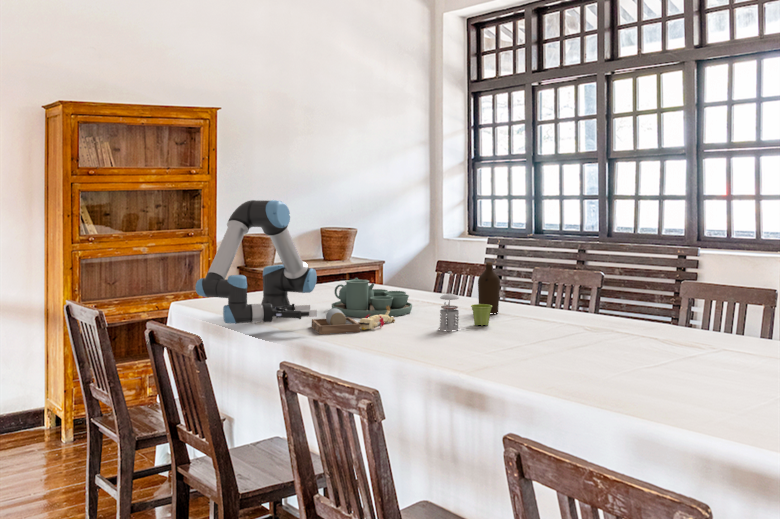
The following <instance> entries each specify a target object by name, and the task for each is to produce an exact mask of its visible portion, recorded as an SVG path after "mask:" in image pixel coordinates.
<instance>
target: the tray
mask: <svg viewBox="0 0 780 519" xmlns="http://www.w3.org/2000/svg"><path fill="white" fill-rule="evenodd" d="M346 320H347V321H349V322H351V323H352V324H347V325H329V324H328V323H327V321H326V318H314V319H311V328H312V329H313V330H314V331H315V330H316V331H315V332H316V333H317V334H319V335H331V334H330V333H336V334H347V333H346V332H353V333H361V327H360V324H359V323H358V322H357V321H356V320H354V319H353V318H351V316H348V317H346Z"/></svg>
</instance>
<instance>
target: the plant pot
mask: <svg viewBox="0 0 780 519" xmlns="http://www.w3.org/2000/svg"><path fill="white" fill-rule="evenodd" d="M470 307H471V311H472V316H473V324H474V325H475V326H476V325H481V326H483V325H487V326H489V324H490V311H491V307H492V305H487V304H479V303H478V304H477V303H476V304H470Z"/></svg>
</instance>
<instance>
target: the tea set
mask: <svg viewBox="0 0 780 519" xmlns="http://www.w3.org/2000/svg"><path fill="white" fill-rule="evenodd" d="M344 281H345V283H346V284H342V283H341V284H337V285H336V287H335V288H334V295H335V297H336V298H337V299H338V300H339V301H336V302H332V303H331V309H333V308H337V309H339V310H340V311H341V312H342V313H343V314H344V315H345V317H350V318H351V317H354V318H361V319H362V318H365V317H366V316H367V315H369V317H371V316H374V315H385V314H386V312H387V309H386V306H390V312H389V314H388V315H389V317H390V318H391V316H393V317H400V316H404V315H407V314H410V313H411V311H412V309H413V303H411V302H408V300H409V297H410V295H409V294H407V292H406V291H403V290H388V289H383V288H380V289H379V288H374V287H375V283H374V282H372V283H371V284H369V283H370V280H368V279H359V278H358V277H355V278H354V279H349V280H344ZM340 287H341V288H340ZM339 288H340V289H339ZM373 288H374V289H373ZM338 289H339V292H338ZM337 292H338V293H337ZM370 314H371V315H370Z"/></svg>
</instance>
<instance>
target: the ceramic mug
mask: <svg viewBox="0 0 780 519" xmlns="http://www.w3.org/2000/svg"><path fill="white" fill-rule="evenodd" d="M346 318H347V316H345V315H344V314H343V313H342V312H341V311H340V310H339V309H337V308H333V309H332V308H331V309H329V310H328V311H327V312H326V314H325V319H326V321H327V323H328V324H329V325H347V324H352V323H351V322H349V321H347V320H346Z"/></svg>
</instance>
